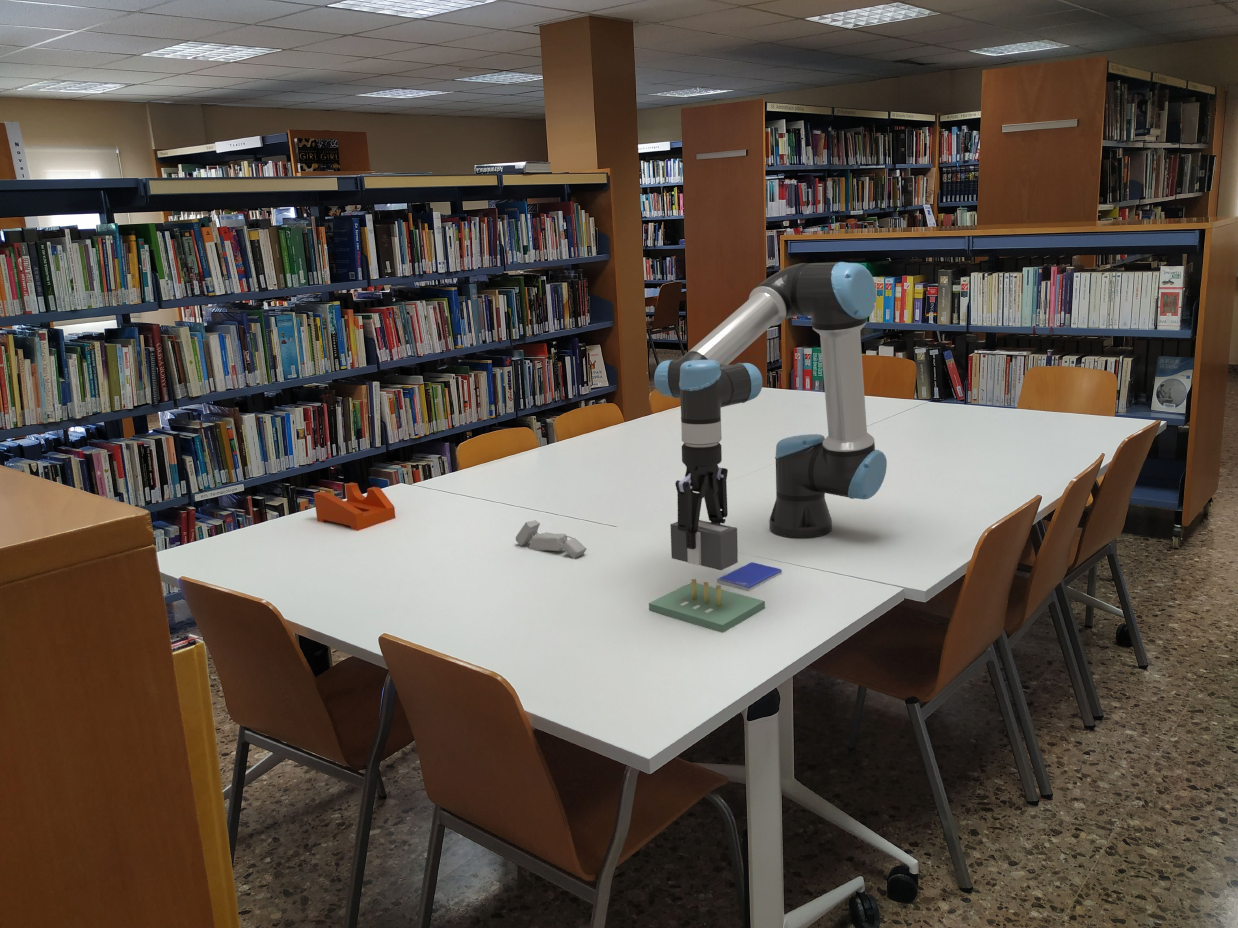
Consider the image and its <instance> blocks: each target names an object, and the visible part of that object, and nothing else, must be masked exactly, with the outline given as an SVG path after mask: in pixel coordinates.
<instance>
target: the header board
mask: <svg viewBox="0 0 1238 928" xmlns="http://www.w3.org/2000/svg"><path fill="white" fill-rule="evenodd" d="M765 608H766V601H765V600H763V599H759V598H755V597H752V596H747V595H744V594H740V593H736V592H732V591H728V590H726V589H722V586H721V585H720V584H719V585H715V587H713V586H710V585H709V582H707V581H706V582H705V581H704V582H703V583H699V582H697V579H696V578H692V579H691V580H690V582H689V583H687V584H685V585H682V586H681V587H679V588H676V589H675V590H673V591H671V592H669V593H666V594H664V595H662V596H660V597H658V598H657V599H655V600H653V601H651V602H649V603H648V610H649V611H650V612H653V613H654V612H655V613H657V614H660V615H664V616H666V617H670V618H674V619H678V620H680V621H684V622H687V623H691V624H694V625H697V626H701V627H703V628H706V629H711V630H714V631H716V632H720V633H725V632H726V631H728V630H729V629H731V628H733V627H735V626H737V625H738V624H740V623H742V622H744V621H745V620H746V619H748V618H750V617H752V616H754V615H755V614H757V613H759V612H760V611H762V610H764V609H765Z"/></svg>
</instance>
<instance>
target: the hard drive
mask: <svg viewBox="0 0 1238 928" xmlns="http://www.w3.org/2000/svg"><path fill="white" fill-rule="evenodd" d="M782 574H783V570H782V569H780V568H777V567H773V566H770V565H765V564H761V563H757V562H753V561H751V562H749V563H747V564H746V565H744V566H741V567H739V568H738V569H735V570H733V571H730V572H729V573H726V574H724V575H722V576H721V577H718V578H716V584H719V585H720V584H721V585H724V586H728V587H732V588H736V589H739V590H743V591H745V592H750V591H752V590H754V589H756V588H758V587H760V586H761V585H763V584H765V583H767V582H769V581H771V580H772V579H774V578H776V577H778V576H779V575H782Z"/></svg>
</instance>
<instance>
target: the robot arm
mask: <svg viewBox="0 0 1238 928" xmlns="http://www.w3.org/2000/svg"><path fill="white" fill-rule="evenodd" d="M876 302H877V287H876V284H875V279H874V277H873V275H872V274H871V272H870V271H869V270H868V269H867V267H866V266H864V265H862V264H860V263H858V262H857V263H856V262H845V261H835V262H832V261H831V262H814V263H813V262H812V263H811V262H810V263H809V262H803V263H802V262H801V263H797V264H793V265H790V266H787V267H785V268H783V269H781V270H780V271H777V272H776V273H774V274H772V275H770V276H769V277H767V278H766V279H764V280H763V281H762V282H761V283H760V284H758V285H757V286H756V287H755V288H753V289H752V290H751V292H750V294H749V297H748V300H747V301H745V302H744V303H743V304H742V305H741V306H740V307H739V308H737V309H736V310H735V311H734V312H733V313H731V314H730V315H729V316H728V317H727V318H726V319H724V321H722V322H721V323H720V324H719V325H718V326H717V327H715V328H714V329H713V330H712V331H711V332H709V334H707V335H706V336H704V338H703V339H701V340H700V341H699V342H698V343H697V344H695V346H693V347H692V348H691V349H690V350H689V351H688V352H686V353H685V355H682V357H680V358H679V359H677V360H675V359H671V360H670V359H668V360H664V361H663V360H662V362H660V363H659V364H658V365H657V367H656V369H655V372H654V377H653V379H654V381H653V382H654V386H655V389H656V391H657V392H658V393H659V394H660V395H662V396H664V397H670V398H674V399H679V400H680V421H681V423H680V424H681V427H680V428H681V442H682V445H681V462H682V464H684V466H685V468H686V469H685V474H684V478H683V479H682V480H675V483H674V484H675V488H676V492H677V522H678V530H679V531H684V532H685V533H686V547H687V554H688V562H687V564H691V565H695V566H701V534H700V532H697V530H698V524H699V520H700V516H701V511H702V510H701V508H702V502H703V501H702V500H703V499H704V503H705V507H706V508H705V509H706V513H707V516H708V520H709V521H708V522H711V523H716V524H721V525H725V523H726V518H727V517H728V513H729V511H728V491H727V490H728V489H727V478H728V474H729V473H728V472H729V470H728V468H725V467H719V464H721V463H722V461H723V459H722V457H723V456H722V444H721V443H720V442H721V441H722V419H721V418H722V415H721V414H722V412H721V411H722V410H721V409H722V408H725V407H729V406H733V405H737V404H745V403H747V402H749V401H752V400H754V399H756V398H757V397H759V395H760V393H761V391H762V389H763V376H762V373H761V371H760V370H759V368H758V367H756V365H754V364H752V363H748V362H743V363H742V362H737V363H735V364H730V363H732V362H733V361H734V360H735V359H736V358H737V357H739V355H740V354H742V353H743V352H744V351H745V350H746V349H747V348H748V347H749V346H750V345H752V343H754V342H755V341H757V339H759V337H760V336H761V335H763V334H764V333H765V332H766V331H767V330H768V329H769V328H770V327H771V326H778V325H780V324H782V323H783V322H784V321H785V320H787V319H789V318H795V317H807V318H809V317H810V318H811V327H812V330H813V331H814V332H816V333H817V334H819V336H820V337H819V339H820V350H821V351H820V352H821V363H822V372H823V373H822V375H823V385H824V388H823V389H824V396H825V397H824V398H825V410H826V411H825V412H826V421H827V434H828V435H827V437H826V438H825V436H824V435H822V434H817V433H816V434H815V433H814V434H813V433H811V434H800V435H799V434H798V435H794V436H793V435H792V436H790V437H789V436H787V437H784V438H783V439H781V440H779V441H778V442H777V443H776V447H775V457H774V459H775V488H776V489H775V491H776V493H775V494H776V496H775V501H774V504H773V508H772V511H771V513H770V517H769V521H768V522H769V531H770V532H772V533H773V534H776V535H777V536H782V537H784V538H785V537H786V538H793V539H794V538H796V539H807V538H808V539H809V538H810V539H811V538H818V537H823V536H825V535H827V534H829V533H831V532H832V530H833V519H832V517H831V514H830V510H829V507H828V504H827V502H826V498H825V497H826V496H825V494H826V495H827V494H828V495H832V496H833V495H834V496H838V497H843V498H848V499H853V500H854V499H857V500H869V499H870V498H872V497H874V496H875V495H876V494H877V492H879V490H880V489H881V487H882V484H883V483H884V480H885V479H886V473H887V466H888V461H887V456H886V455H885V453H884V452H883V451H881V450H879V449H876V445H875V444H876V443H875V438H874V437H873V436H872V435H871V434H870V433H868V430H867V429H868V427H867V426H868V425H867V411H866V399H865V398H866V397H865V385H864V382H865V381H864V366H863V356H862V355H863V354H862V342H861V341H862V340H861V339H862V338H861V330H862V329H863V328H864V327H865V325H867V324H868V323H867V322H868V321H867V318H868V317H870V315H871V314H872V313H873V312H874V309H875V307H876V306H875V303H876Z"/></svg>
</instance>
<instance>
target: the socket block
mask: <svg viewBox="0 0 1238 928" xmlns="http://www.w3.org/2000/svg"><path fill="white" fill-rule="evenodd" d="M697 532H700V534H701V565H700V566H701V567H704V568H709V569H713V570H718V571H723V570H725V569H727V568H730V567H731V566H734V565H736V564H737V563H739V561H738V559H739V558H738V556H739V555H738V554H739V553H738V551H739V550H738V527H734V526H730V525H725V524H722V523H720V524H716V523H711V521H706V520H702V519H699V524H698V530H697ZM670 549H671V550H670V552H671V553H670V554H671V559H673V560H675V561H681V562H686V563H688V554H687V547H686V533H685V532H684V531H679V530H678V521H675V522H673V523H671V524H670Z"/></svg>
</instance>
